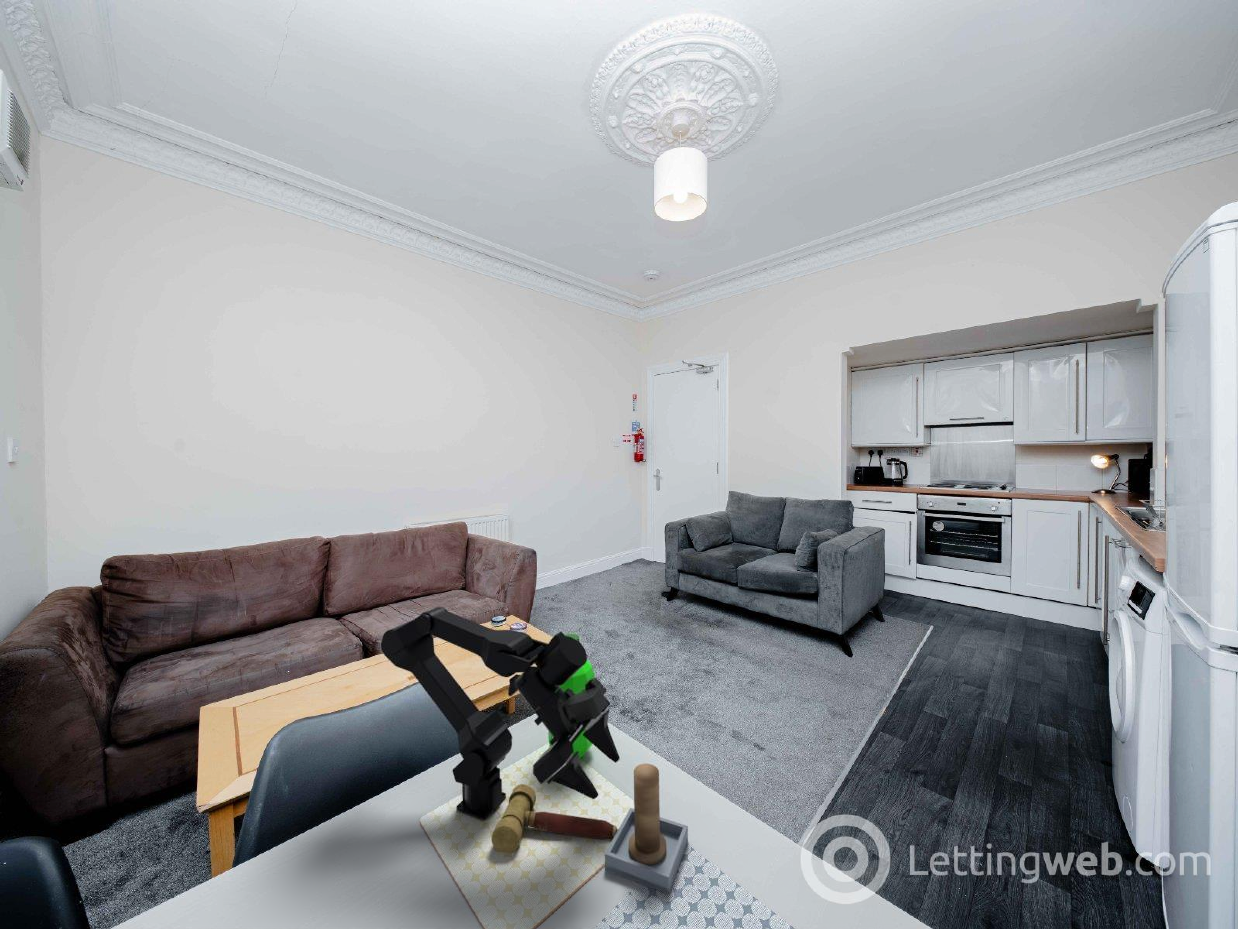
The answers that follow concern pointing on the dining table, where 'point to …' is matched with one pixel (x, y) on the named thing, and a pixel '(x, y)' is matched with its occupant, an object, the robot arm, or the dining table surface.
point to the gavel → (541, 822)
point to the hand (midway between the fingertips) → (607, 778)
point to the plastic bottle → (577, 686)
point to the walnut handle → (647, 818)
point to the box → (643, 874)
